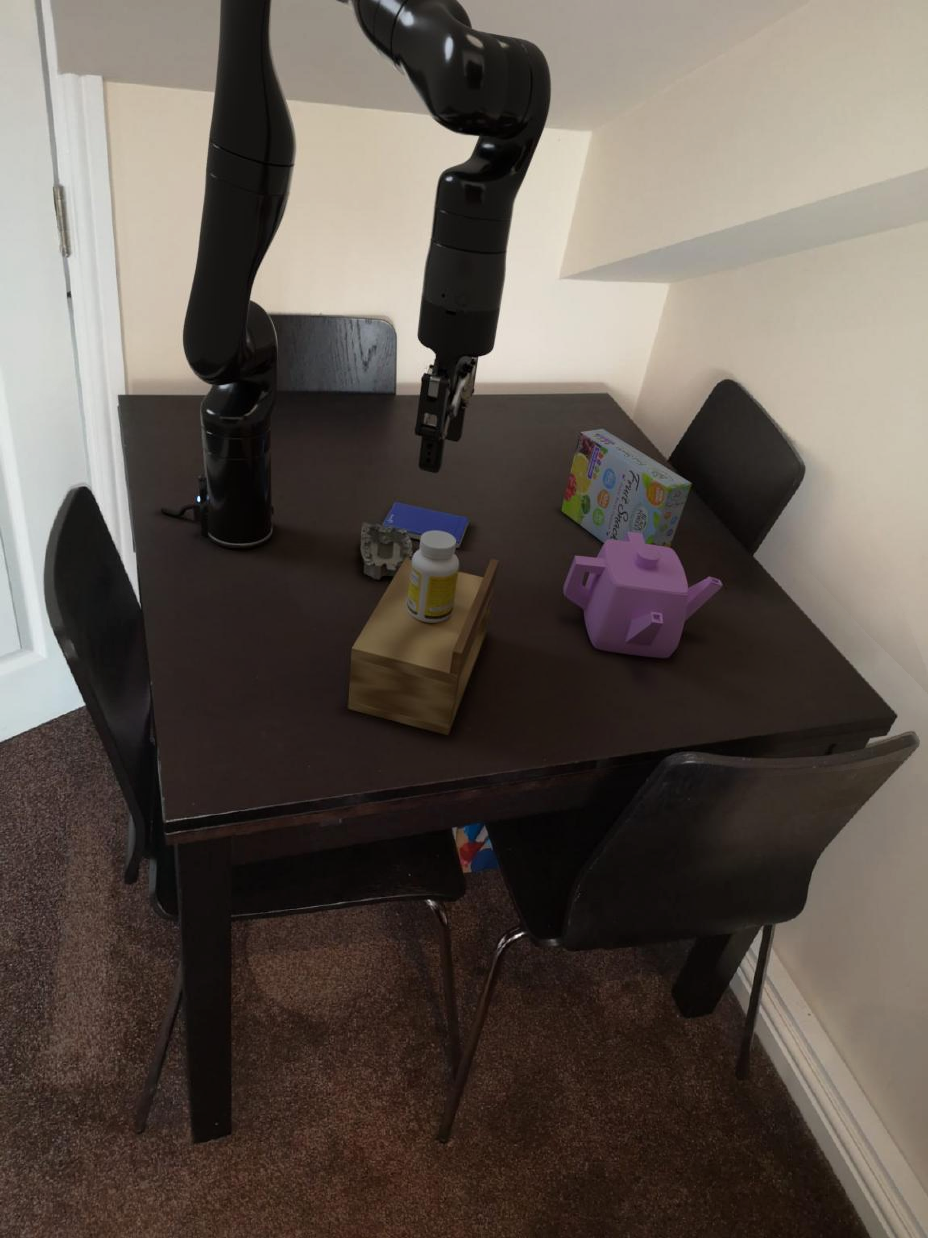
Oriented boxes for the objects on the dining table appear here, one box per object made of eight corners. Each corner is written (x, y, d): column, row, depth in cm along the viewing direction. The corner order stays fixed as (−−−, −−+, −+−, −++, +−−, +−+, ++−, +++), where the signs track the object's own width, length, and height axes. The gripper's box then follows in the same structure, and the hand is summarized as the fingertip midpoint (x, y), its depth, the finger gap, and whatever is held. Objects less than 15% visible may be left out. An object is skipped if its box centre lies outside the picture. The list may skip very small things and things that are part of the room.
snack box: (666, 567, 127) (694, 482, 119) (640, 574, 125) (667, 487, 116) (583, 506, 141) (603, 425, 132) (558, 511, 138) (577, 429, 129)
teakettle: (615, 580, 122) (635, 509, 115) (708, 636, 113) (737, 563, 106) (542, 616, 112) (560, 541, 104) (639, 682, 103) (666, 604, 95)
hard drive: (382, 524, 123) (459, 540, 123) (395, 500, 130) (469, 516, 129) (381, 532, 124) (458, 549, 123) (394, 509, 131) (468, 525, 130)
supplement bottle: (459, 607, 95) (470, 536, 89) (439, 630, 91) (449, 557, 85) (419, 592, 97) (428, 521, 91) (398, 614, 92) (405, 541, 87)
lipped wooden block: (347, 709, 91) (353, 625, 84) (399, 614, 108) (407, 538, 101) (448, 735, 90) (461, 653, 83) (485, 636, 106) (499, 560, 99)
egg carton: (411, 582, 114) (414, 558, 112) (359, 579, 113) (360, 555, 111) (409, 543, 123) (411, 520, 120) (360, 540, 122) (361, 517, 119)
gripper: (443, 272, 81) (425, 422, 90) (400, 304, 69) (385, 472, 79) (514, 287, 80) (488, 437, 89) (483, 322, 68) (457, 490, 78)
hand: (440, 454), depth 84 cm, fingers open, 8 cm apart
